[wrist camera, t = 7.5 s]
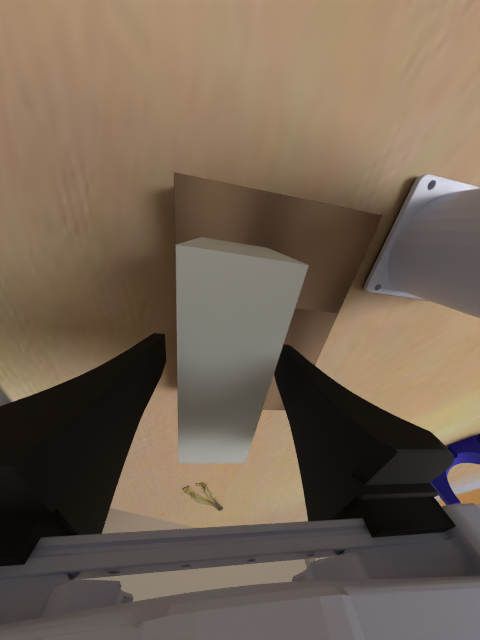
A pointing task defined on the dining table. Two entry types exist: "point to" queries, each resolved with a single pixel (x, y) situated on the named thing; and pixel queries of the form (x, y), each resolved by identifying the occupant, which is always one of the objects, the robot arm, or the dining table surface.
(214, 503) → the tongs
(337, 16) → the dining table surface
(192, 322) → the grey rubber bar
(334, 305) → the notched shelf
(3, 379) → the dining table surface
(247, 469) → the dining table surface
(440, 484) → the cable clip
